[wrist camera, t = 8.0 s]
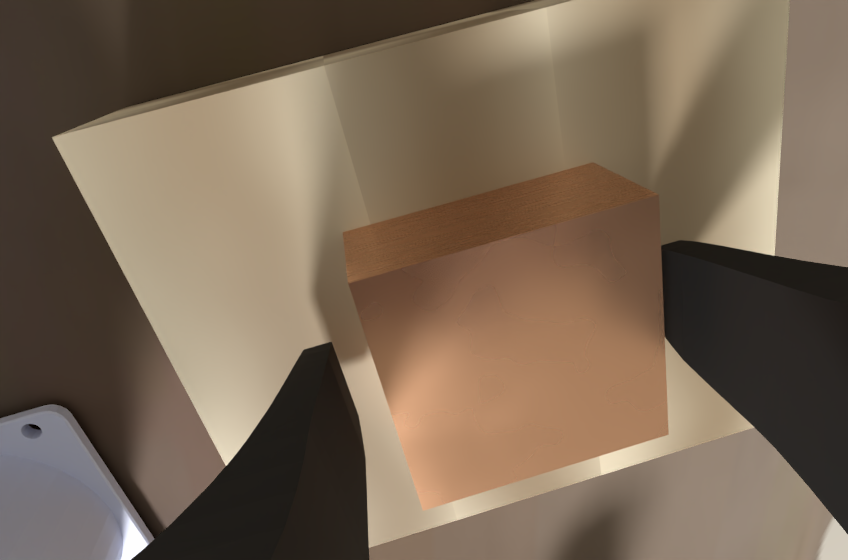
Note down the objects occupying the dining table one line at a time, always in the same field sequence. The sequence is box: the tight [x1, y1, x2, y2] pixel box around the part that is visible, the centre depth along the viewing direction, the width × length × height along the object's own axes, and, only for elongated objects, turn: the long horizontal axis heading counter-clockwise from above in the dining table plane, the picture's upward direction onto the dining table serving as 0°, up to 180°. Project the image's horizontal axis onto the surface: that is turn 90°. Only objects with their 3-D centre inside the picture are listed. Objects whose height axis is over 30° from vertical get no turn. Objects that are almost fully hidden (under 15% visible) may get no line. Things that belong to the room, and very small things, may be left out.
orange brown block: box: [343, 162, 669, 511], centre depth 13 cm, size 5×5×6 cm
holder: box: [52, 0, 790, 548], centre depth 14 cm, size 14×12×4 cm
